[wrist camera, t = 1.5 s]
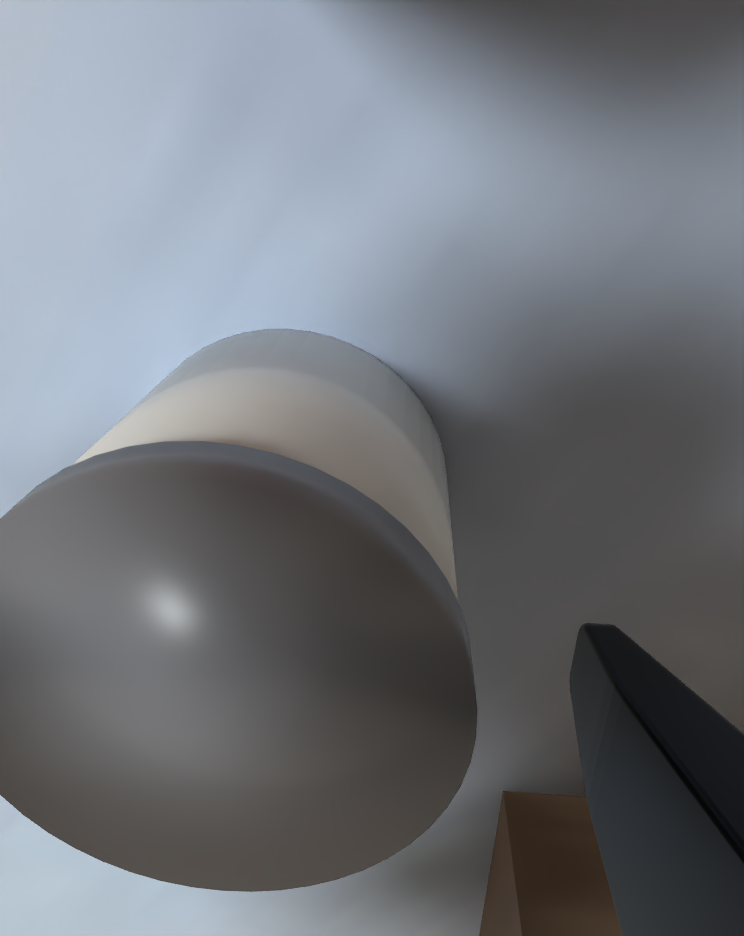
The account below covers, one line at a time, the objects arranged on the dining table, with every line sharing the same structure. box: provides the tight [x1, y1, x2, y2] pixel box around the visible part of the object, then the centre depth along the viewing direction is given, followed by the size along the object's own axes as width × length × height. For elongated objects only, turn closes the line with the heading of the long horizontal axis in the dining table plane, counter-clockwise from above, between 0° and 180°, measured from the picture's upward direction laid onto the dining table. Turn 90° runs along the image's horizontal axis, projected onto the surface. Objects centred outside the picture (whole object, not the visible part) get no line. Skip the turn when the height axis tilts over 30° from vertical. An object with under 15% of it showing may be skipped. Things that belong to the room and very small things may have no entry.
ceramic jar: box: [0, 329, 477, 892], centre depth 10 cm, size 6×6×6 cm
